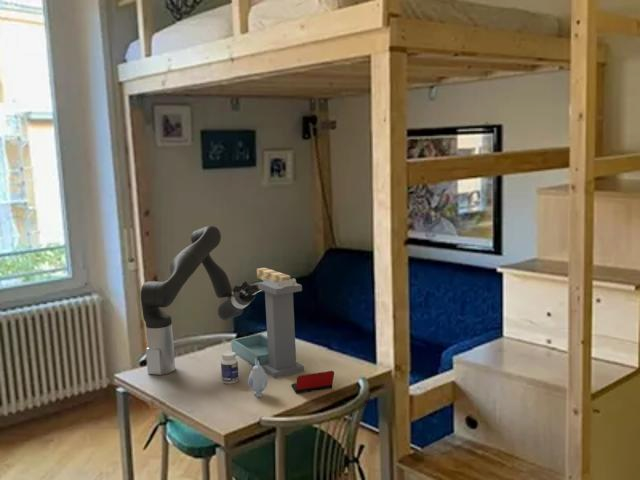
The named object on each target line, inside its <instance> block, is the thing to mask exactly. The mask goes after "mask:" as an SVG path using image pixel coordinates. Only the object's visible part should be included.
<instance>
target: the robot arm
mask: <svg viewBox="0 0 640 480" xmlns="http://www.w3.org/2000/svg"><path fill="white" fill-rule="evenodd" d="M190 240H191V243H192V244H190V245H188V246H186V247H185V248H184V249H182V250H180V252H179V253H178V254H177V255H175V257H174V258H173V259H172V261H171V262H170V265H169V267H170V268H169V270H170V275H171V276H170V277H169V278H168V279H167V280H164V281H154V280H153V281H146V282H144V283H143V284H142V286H141V288H140V289H141V290H140V303H141V311H142V319H143V321H144V323H145V336H146V342H147V343H146V344H147V347H146V348H145V356H146V371H147V374H148V375H156V376H163V375H166V374H169V373H172V372H174V371H175V370H176V361H175V350H174V349H175V348H174V347H175V346H174V335H173V322H172V317H171V315H169V314H167V313H166V312H164V311H162V310H161V309H160V308H168V307H169V306H170V305H171V304H173V302H174V301H175V299H176V298H177V296H178V294H179V292H180V291H181V290H182V289H183V286H184V285H185V283H186V282H187V281H188V280H189V279H190V277H191V276H192V275H193V274H194V273H195V272H196V271H197V269H198V268H199V266H200V265H201V264H202V265H203V267H204V269H205V271H206V273H207V274H208V277H209V280H210V282H211V285H212V287H213V290H214V292H215V296H216V297H217V298H218V299H224V298H227V300H225V301H224V302H222V303H220V304H219V305H218V308H217V315H218V317H219V318H220V319H221V320H223V321H229V320H232V319H234V318H235V317H238V316H240V315H242V314H243V312H244V309H245V308H246V307H247V306H249V305H250V304H251V303H252V302H253V301H254V299H255V298H256V295H257V293H259V292H262V293H265V291H264V290H262V289H259V287H258V283H259V282H255V283H251V284H249V283H248V282H247V280H245V281H244V282H243V283H241V284H239V286H238V285H235V286H233V288H232V285H231V283H230V279H229V277H228V275H227V273H226V272H225V271H224V269H223V268H222V267H221V266H219V265H218V263H216V262H215V260H214V259H213V258H212V256H211V254H210V253H211V252H212V251H214V250H215V248H216V249H217V247H218V246H219V245H220V242H221V240H222V235H221V231H220V229H219V228H218V227H216V226H214V225H207V226H204V227H202V228H199V229H196V230H194V231H193V232H192V233H191V235H190ZM261 282H263V280H262V281H261Z"/></svg>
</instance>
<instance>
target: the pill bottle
mask: <svg viewBox="0 0 640 480" xmlns="http://www.w3.org/2000/svg"><path fill="white" fill-rule="evenodd" d="M236 357H237V355H236V353H235V352H232V351H224V352H222V354H221V358H222V360H221V362H220V369H221V372H220V373H221V381H222V384H225V385H226V384H227V385H228V384H230V385H231V384H235V383H237V382H238V381H239V365H238V364H239V363H238V362H239V361H238V358H236Z"/></svg>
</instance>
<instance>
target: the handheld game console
mask: <svg viewBox="0 0 640 480" xmlns="http://www.w3.org/2000/svg"><path fill="white" fill-rule="evenodd" d="M334 376H335V371H334V370H330V371H329V370H328V371H322V372H316V373H309V374H301V375H298V376H297V377H296V382H295V383H294V382H293V383H292V384H291V388H292V390H293V391H294V394H304V393H310V392H312V391H313V392H314V391H316V392H317V391H324V390H332V389H333V384H334V383H333V381H334Z"/></svg>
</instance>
